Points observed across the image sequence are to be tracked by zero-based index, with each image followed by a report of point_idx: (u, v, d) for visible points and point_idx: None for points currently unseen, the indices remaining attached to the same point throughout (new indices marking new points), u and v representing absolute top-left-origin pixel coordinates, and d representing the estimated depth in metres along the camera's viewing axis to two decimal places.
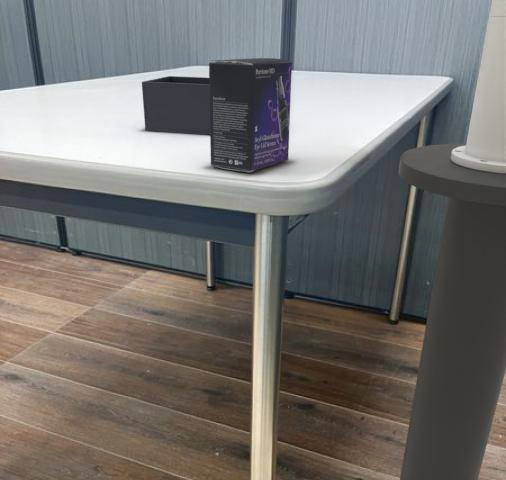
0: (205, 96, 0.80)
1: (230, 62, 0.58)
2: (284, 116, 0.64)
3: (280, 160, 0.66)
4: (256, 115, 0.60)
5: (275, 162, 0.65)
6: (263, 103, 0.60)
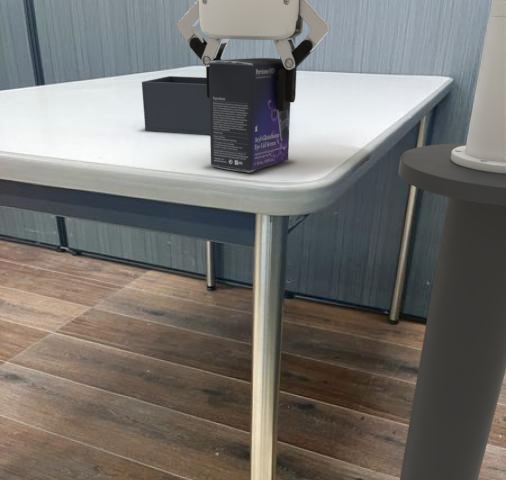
0: (205, 96, 0.80)
1: (230, 62, 0.58)
2: (284, 116, 0.64)
3: (280, 160, 0.66)
4: (256, 115, 0.60)
5: (275, 162, 0.65)
6: (263, 103, 0.60)
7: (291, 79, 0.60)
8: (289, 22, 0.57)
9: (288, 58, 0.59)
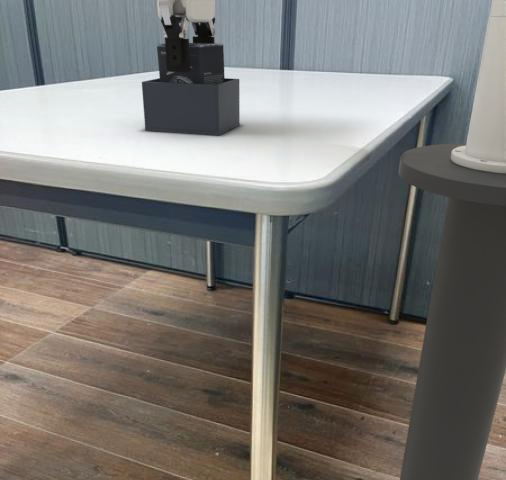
0: (205, 96, 0.80)
1: (211, 45, 0.80)
2: None
3: None
4: None
5: None
6: None
7: None
8: (213, 9, 0.83)
9: (212, 29, 0.85)
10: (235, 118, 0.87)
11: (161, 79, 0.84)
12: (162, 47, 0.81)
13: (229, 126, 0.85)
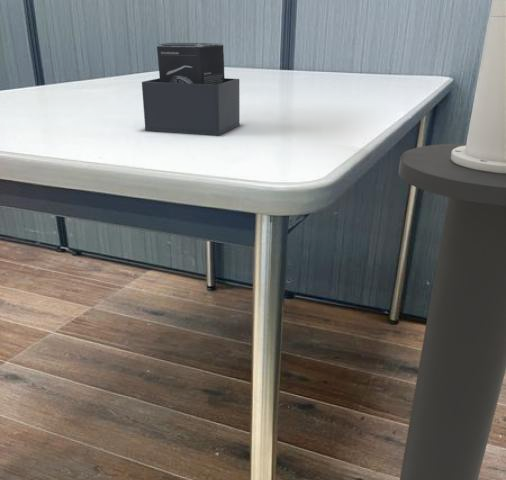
0: (205, 96, 0.80)
1: (211, 45, 0.80)
2: None
3: None
4: None
5: None
6: None
7: None
8: None
9: None
10: (235, 118, 0.87)
11: (161, 79, 0.84)
12: (162, 47, 0.81)
13: (229, 126, 0.85)
